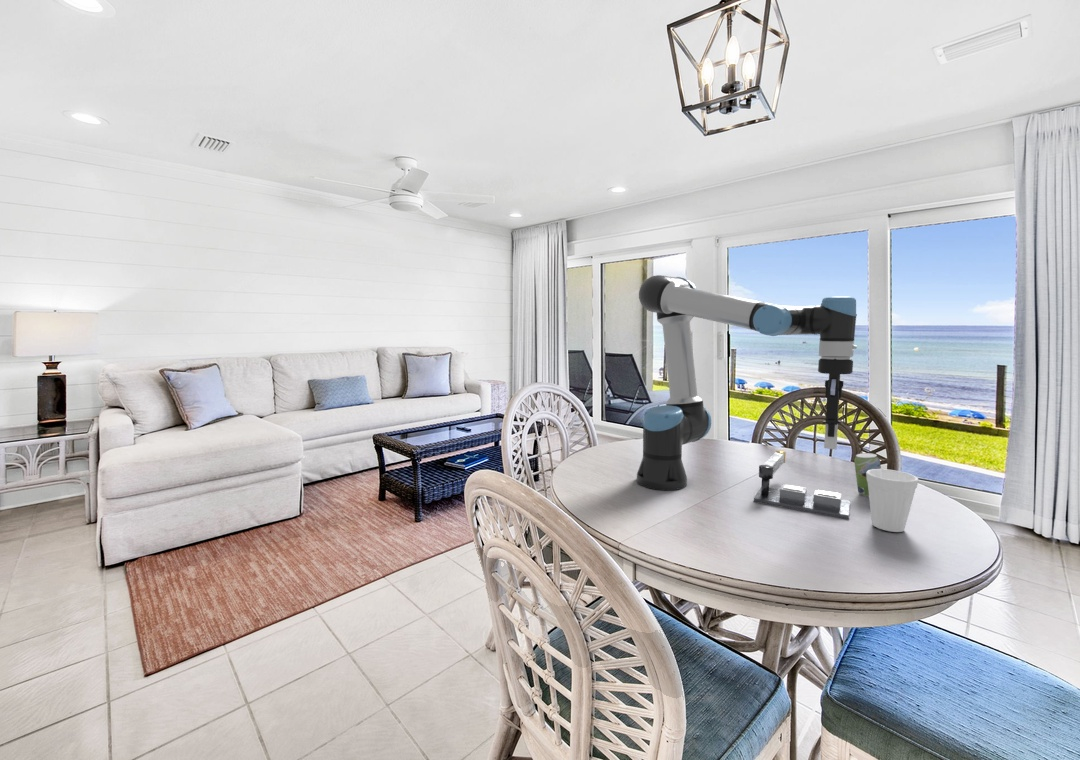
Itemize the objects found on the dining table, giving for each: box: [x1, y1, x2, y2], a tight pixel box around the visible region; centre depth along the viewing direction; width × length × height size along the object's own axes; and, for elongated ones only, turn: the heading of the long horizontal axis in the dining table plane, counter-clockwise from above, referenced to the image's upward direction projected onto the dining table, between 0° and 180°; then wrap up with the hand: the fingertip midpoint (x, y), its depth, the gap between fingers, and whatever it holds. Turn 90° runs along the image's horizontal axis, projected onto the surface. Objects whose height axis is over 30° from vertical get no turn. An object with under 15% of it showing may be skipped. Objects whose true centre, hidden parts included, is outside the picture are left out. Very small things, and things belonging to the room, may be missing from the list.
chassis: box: [753, 478, 851, 520], centre depth 129 cm, size 22×12×6 cm, turn 56°
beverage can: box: [853, 452, 882, 498], centre depth 135 cm, size 6×7×12 cm
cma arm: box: [758, 450, 787, 480], centre depth 141 cm, size 23×4×3 cm, turn 142°
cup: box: [866, 468, 920, 533], centre depth 113 cm, size 10×10×13 cm
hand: (830, 448), depth 124 cm, fingers closed
